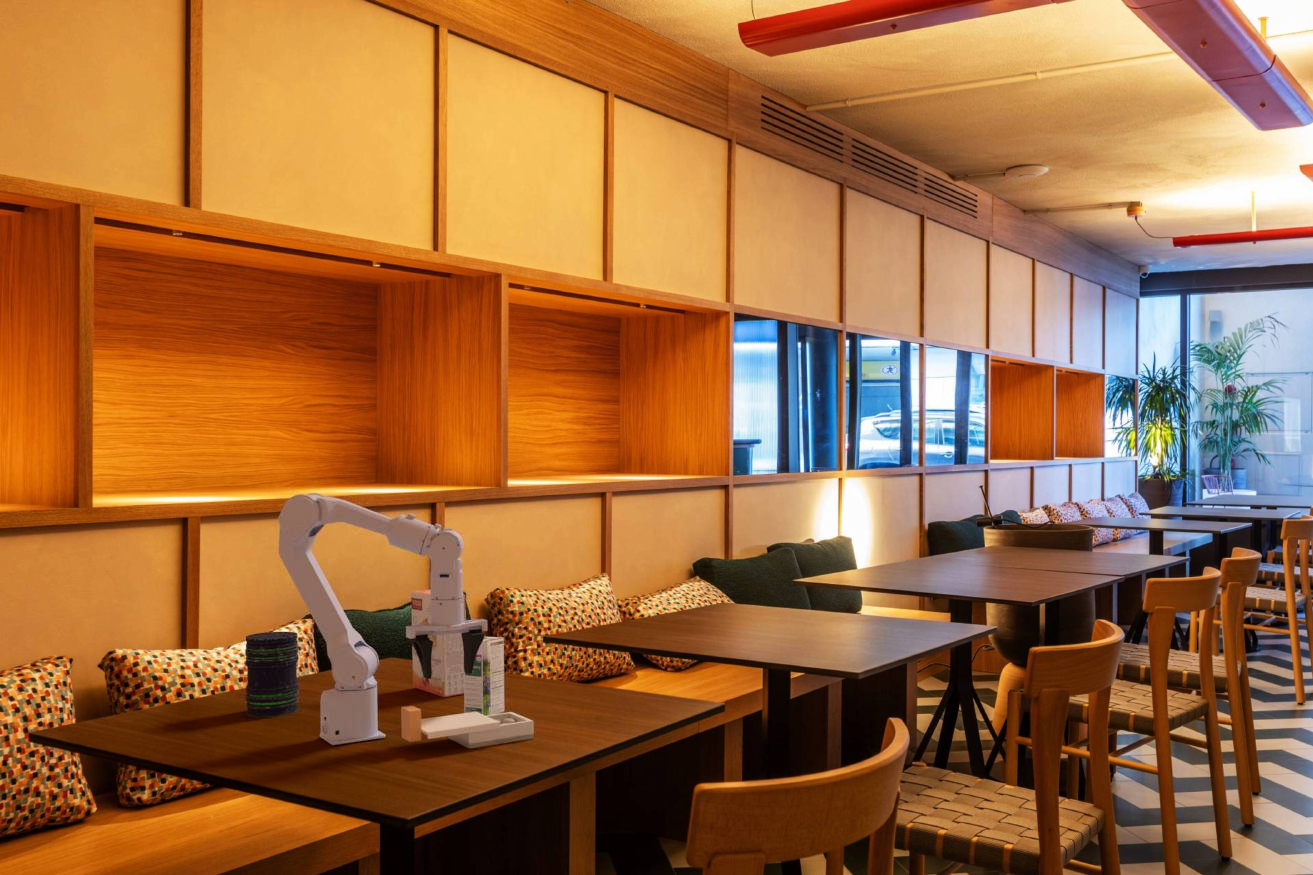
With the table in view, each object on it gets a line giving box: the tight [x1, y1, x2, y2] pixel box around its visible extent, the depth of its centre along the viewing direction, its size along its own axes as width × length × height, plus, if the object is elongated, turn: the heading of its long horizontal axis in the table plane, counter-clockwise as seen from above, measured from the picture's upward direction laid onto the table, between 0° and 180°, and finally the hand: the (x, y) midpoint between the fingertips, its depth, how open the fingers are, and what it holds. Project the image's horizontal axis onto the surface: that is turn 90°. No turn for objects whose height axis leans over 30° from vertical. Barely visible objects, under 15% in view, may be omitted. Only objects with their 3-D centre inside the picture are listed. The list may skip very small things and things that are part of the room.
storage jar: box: [244, 631, 300, 718], centre depth 223 cm, size 10×10×15 cm
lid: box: [400, 705, 500, 743], centre depth 194 cm, size 15×10×5 cm
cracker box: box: [410, 589, 467, 698], centre depth 241 cm, size 14×6×21 cm, turn 39°
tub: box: [448, 711, 535, 749], centre depth 198 cm, size 12×9×3 cm
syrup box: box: [463, 636, 505, 716], centre depth 218 cm, size 6×6×14 cm
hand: (448, 675), depth 202 cm, fingers open, 7 cm apart
